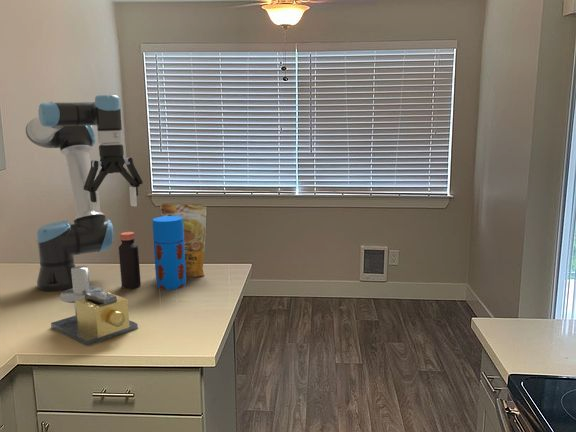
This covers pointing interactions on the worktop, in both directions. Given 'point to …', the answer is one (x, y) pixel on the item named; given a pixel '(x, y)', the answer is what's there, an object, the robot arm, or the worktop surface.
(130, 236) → the bottle
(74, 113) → the robot arm
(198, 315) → the worktop surface
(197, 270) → the pancake mix bag
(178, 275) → the thermos
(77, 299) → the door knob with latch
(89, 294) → the grey slab block
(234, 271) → the worktop surface
